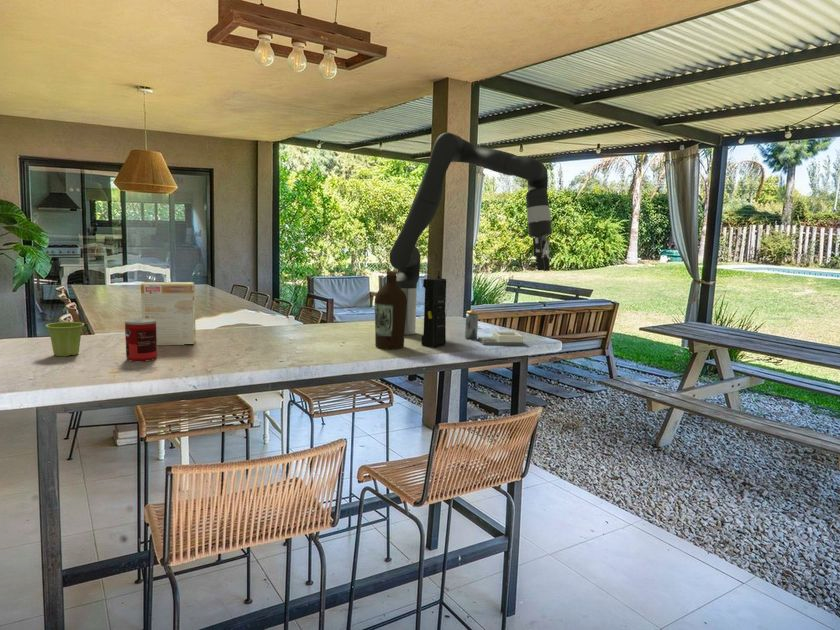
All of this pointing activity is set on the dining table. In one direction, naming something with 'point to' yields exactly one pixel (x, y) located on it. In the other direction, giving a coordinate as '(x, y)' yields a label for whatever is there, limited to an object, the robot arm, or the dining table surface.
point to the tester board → (503, 339)
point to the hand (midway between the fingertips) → (543, 270)
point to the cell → (471, 325)
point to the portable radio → (434, 312)
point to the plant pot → (65, 337)
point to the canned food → (141, 339)
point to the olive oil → (390, 314)
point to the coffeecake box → (170, 311)
